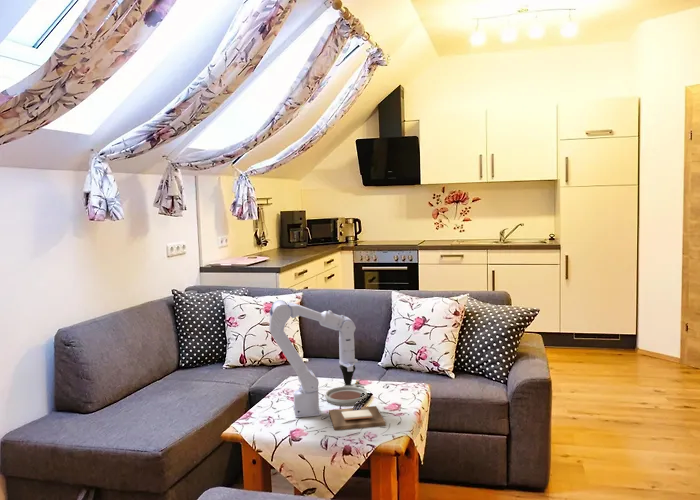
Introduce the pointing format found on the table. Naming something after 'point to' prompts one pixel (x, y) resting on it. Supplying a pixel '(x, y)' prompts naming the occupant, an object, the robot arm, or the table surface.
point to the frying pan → (346, 394)
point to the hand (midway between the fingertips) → (347, 384)
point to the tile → (356, 414)
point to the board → (356, 423)
